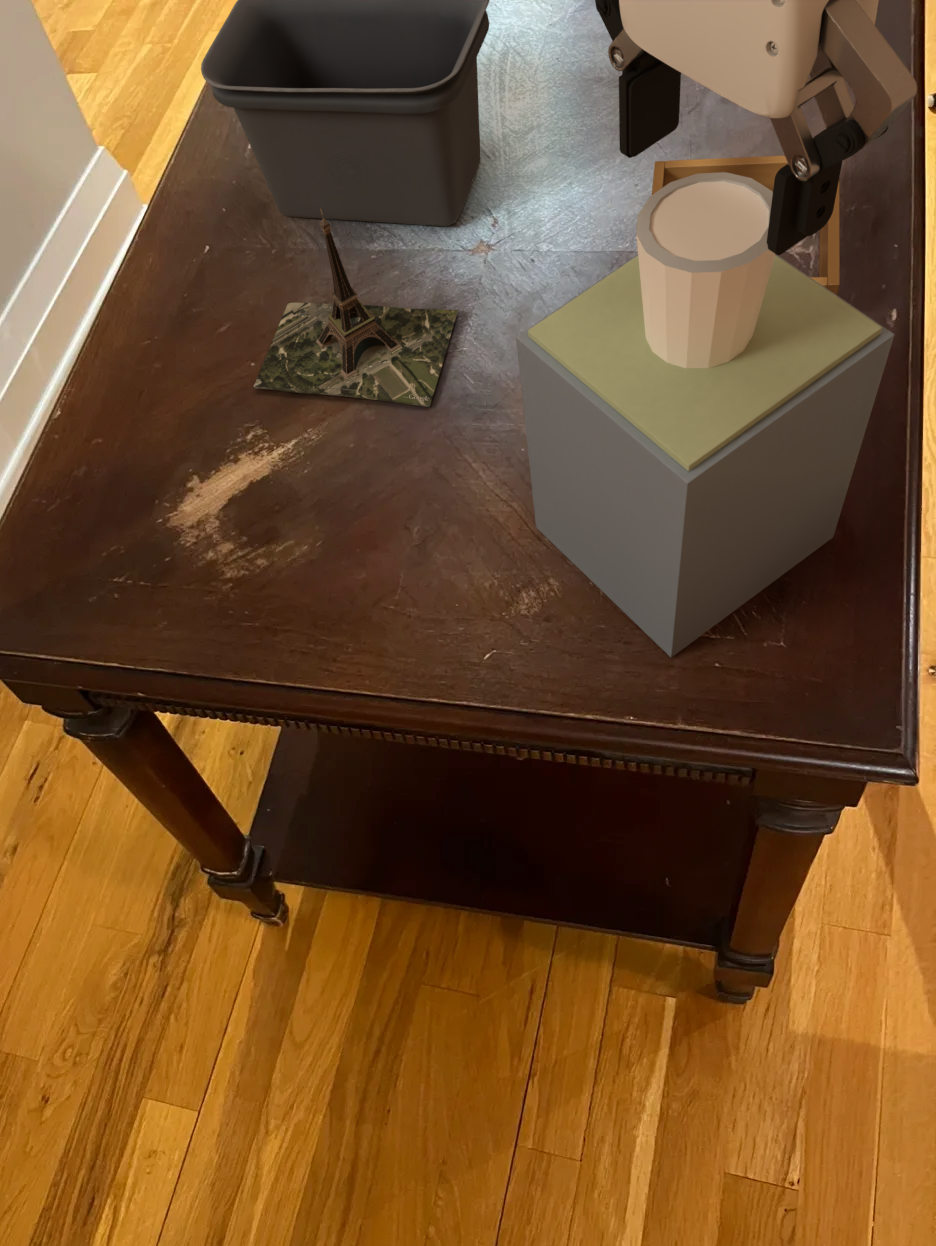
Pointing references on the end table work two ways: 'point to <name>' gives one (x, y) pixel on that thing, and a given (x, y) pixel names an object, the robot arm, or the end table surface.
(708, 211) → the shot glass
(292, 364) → the eiffel tower figurine
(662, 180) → the wooden frame
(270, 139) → the storage bin
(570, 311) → the mat
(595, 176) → the end table surface
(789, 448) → the block
